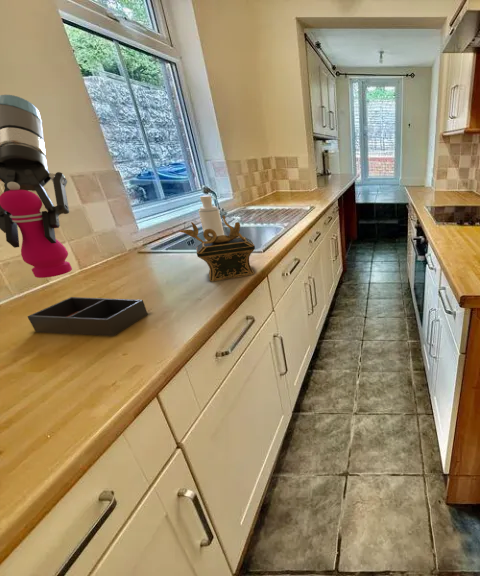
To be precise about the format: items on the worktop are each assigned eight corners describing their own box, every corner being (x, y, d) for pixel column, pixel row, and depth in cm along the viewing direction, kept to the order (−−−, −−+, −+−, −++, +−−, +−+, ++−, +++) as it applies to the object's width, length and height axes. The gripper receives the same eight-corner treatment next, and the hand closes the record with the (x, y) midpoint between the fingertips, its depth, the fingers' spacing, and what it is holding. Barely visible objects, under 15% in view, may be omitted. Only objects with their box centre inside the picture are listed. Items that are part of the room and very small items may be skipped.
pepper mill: (32, 272, 73) (-14, 181, 65) (74, 265, 78) (36, 179, 69) (31, 281, 68) (-18, 184, 60) (76, 272, 73) (36, 181, 65)
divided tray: (36, 333, 74) (27, 316, 72) (78, 312, 83) (71, 296, 82) (114, 337, 72) (106, 320, 71) (148, 315, 82) (142, 299, 80)
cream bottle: (221, 261, 120) (205, 193, 110) (206, 259, 122) (189, 192, 112) (232, 255, 126) (218, 190, 116) (218, 254, 128) (203, 190, 117)
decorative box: (255, 266, 115) (245, 211, 107) (260, 275, 107) (249, 216, 99) (192, 276, 106) (176, 217, 98) (192, 286, 98) (175, 223, 90)
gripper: (81, 165, 80) (94, 244, 74) (-24, 168, 71) (-19, 258, 65) (67, 142, 74) (80, 226, 68) (-50, 142, 65) (-46, 238, 59)
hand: (32, 241), depth 67 cm, fingers closed on pepper mill, 5 cm apart
